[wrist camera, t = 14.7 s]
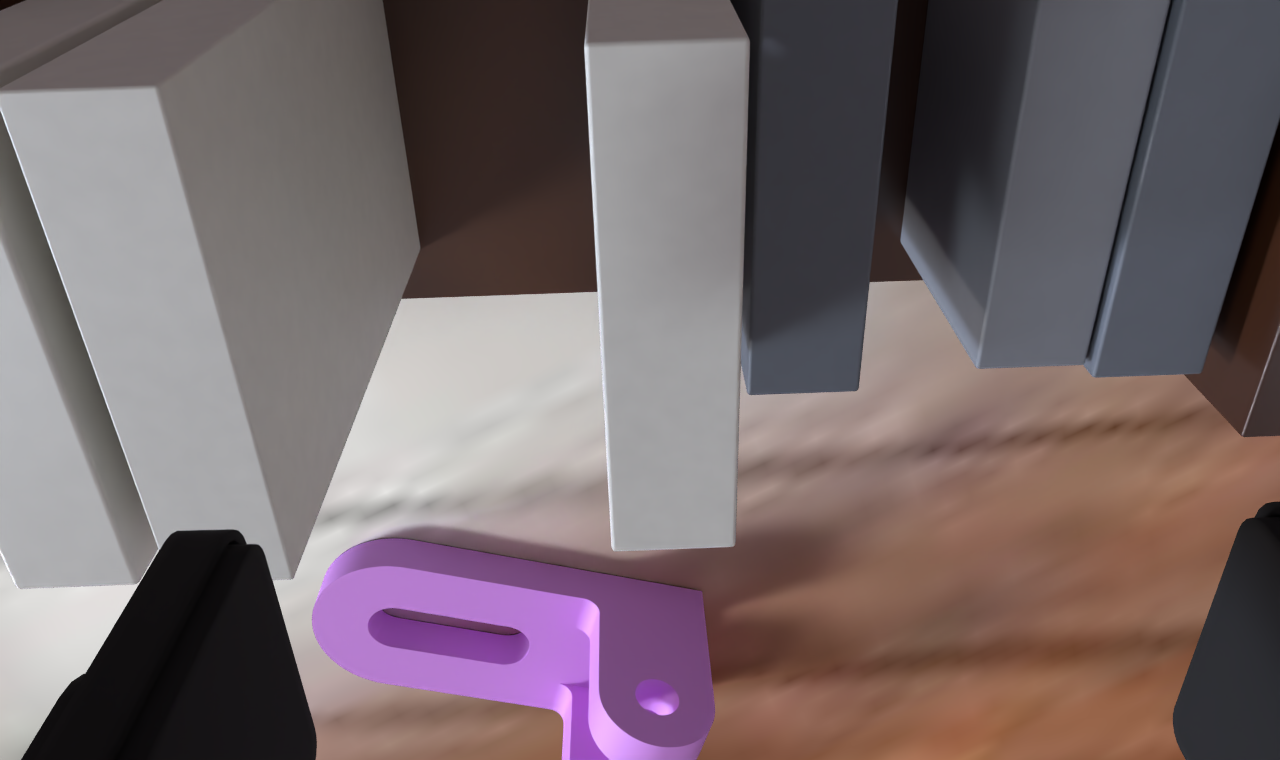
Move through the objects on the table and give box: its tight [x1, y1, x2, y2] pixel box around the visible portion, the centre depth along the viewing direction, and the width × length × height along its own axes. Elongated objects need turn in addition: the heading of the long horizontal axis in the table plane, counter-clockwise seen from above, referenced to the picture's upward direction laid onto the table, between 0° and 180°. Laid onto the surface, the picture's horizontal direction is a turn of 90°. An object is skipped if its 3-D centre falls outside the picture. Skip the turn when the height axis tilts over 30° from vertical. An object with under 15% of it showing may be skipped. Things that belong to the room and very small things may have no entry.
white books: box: [0, 0, 420, 589], centre depth 20 cm, size 4×8×13 cm, turn 2°
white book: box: [584, 0, 750, 551], centre depth 20 cm, size 2×8×13 cm, turn 1°
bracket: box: [312, 538, 715, 760], centre depth 33 cm, size 13×6×7 cm, turn 75°
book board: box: [0, 0, 1280, 437], centre depth 23 cm, size 26×11×9 cm, turn 91°
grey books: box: [730, 0, 1280, 395], centre depth 22 cm, size 10×9×7 cm
